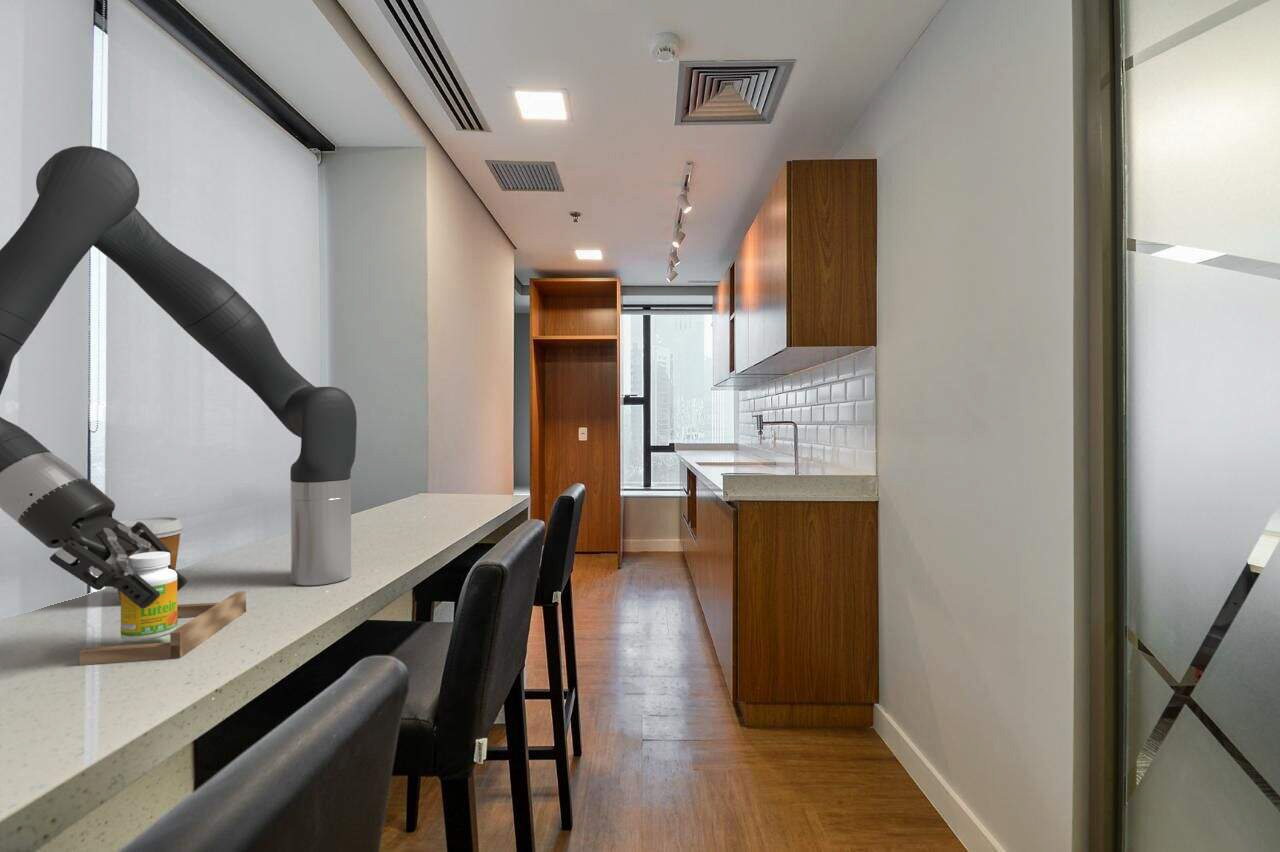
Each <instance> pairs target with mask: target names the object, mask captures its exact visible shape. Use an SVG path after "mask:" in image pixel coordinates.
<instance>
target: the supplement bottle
mask: <svg viewBox="0 0 1280 852" xmlns="http://www.w3.org/2000/svg"><path fill="white" fill-rule="evenodd" d="M128 565H129V566H130V568H131V569H132V570H133V574H132V575H134V574H138V575H139V576H140V577H141V578H142V579H144V580H145V581H146V582H147V583H148V584H150V585H151V586H152V587H153V588H154V589H156V590H157V591H158V592H159V593H160V596H159V598H157V599H156V600H155V601H154V602H153V603H152V604H151V605H150V606H148V607H146V608H140V607H139V606H138V605H137V604H135V603H134V602H133V601H132V600H130V599H129V598H128V597H127V596H126V595H124V594H123V593H122V592H121V604H120V638H121V639H122V640H123V641H143V640H150V639H156V638H159V637H163V636H166V635H170V633H171V632H173V631H174V630H176V629H177V628H178V618H177V605H178V592H177V573H176V572H175V571H174V570H172V569H168V565H170V553H169V552H147V553H140V554H135V555H132V556H129V558H128Z"/></svg>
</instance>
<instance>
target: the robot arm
mask: <svg viewBox="0 0 1280 852" xmlns="http://www.w3.org/2000/svg"><path fill="white" fill-rule="evenodd" d="M35 187H36V191H37V194H38V197H37V199H36V201H35V203H34V204H33V206H32V209H31V210H30V212H29V213H28V215H27V217H26V218H25V219H24V221H23V222H22V223H21V225H20V227H19V228H17V230H16V232H15V233H14V234H13V235H12V236H11V237H10V239H9V240H8V241H7V242H6V243H5V245H3V247H1V249H0V396H1V394H2V392H3V389H4V387H5V385H6V381H7V380H8V376H9V373H10V369H11V366H12V363H13V360H14V358H15V356H16V355H17V354H18V352H19V351H20V350H21V349H22V347H23V346H24V344H25V343H26V342H27V340H28V339H29V337H30V336H31V334H32V333H33V331H34V330H35V329H36V327H37V326H38V325H39V323H40V322H41V320H42V318H43V317H44V315H45V314H46V313H47V311H48V309H49V308H50V306H51V305H52V303H53V301H54V300H55V299H56V297H57V295H58V294H59V293H60V291H61V289H62V288H63V286H64V284H65V283H66V282H67V280H68V279H69V277H70V276H71V274H72V273H73V272H74V270H75V268H76V267H77V266H78V265H79V263H80V262H81V261H82V260H83V258H84V257H85V256H86V254H87V253H88V252H89V251H90V249H92V248H93V247H94V248H96V249H97V250H98V251H100V252H101V253H102V254H104V255H105V256H106V257H107V258H108V259H109V260H111V261H112V262H113V263H114V264H116V265H117V266H118V267H119V268H120V269H121V270H123V271H124V273H126V274H127V275H128V276H129V277H130V278H131V279H132V280H133V282H134V283H135V284H137V285H138V286H139V288H140V289H142V290H143V292H145V293H146V295H147V296H149V297H150V299H152V300H153V302H155V303H156V304H157V305H158V306H159V307H160V308H161V309H162V310H163V311H165V313H166V314H167V315H169V316H170V317H171V319H172V320H174V321H175V323H176V324H177V325H179V326H180V328H182V330H184V331H185V332H186V333H187V334H188V335H189V336H190V337H191V338H192V339H194V340H195V341H196V342H197V343H198V344H199V345H200V346H201V347H202V348H203V349H205V350H206V351H207V352H208V353H210V355H212V356H213V357H214V358H215V359H217V361H219V362H220V363H221V364H222V365H223V366H224V367H226V369H228V371H230V372H231V373H232V374H234V376H235V377H237V378H238V379H239V380H241V381H242V382H243V383H244V384H245V385H246V386H247V387H249V388H250V389H251V390H252V392H254V393H255V395H257V396H258V397H259V398H260V400H261V401H262V402H263V403H264V404H265V406H266V407H267V408H268V409H269V410H270V411H271V412H272V414H274V416H275V417H276V418H277V419H278V420H279V422H281V424H283V426H284V427H285V428H286V429H287V430H288V431H289V432H290V433H292V435H294V436H297V437H298V438H300V451H299V452H300V453H299V455H298V458H297V459H296V461H294V462H293V463H292V464H291V466H290V473H289V474H290V550H291V551H290V554H291V555H290V557H291V558H290V572H291V573H290V574H291V576H290V577H291V581H290V582H291V583H292V584H293V585H297V586H319V585H320V586H321V585H327V584H334V583H338V582H342V581H344V580H347V579H349V578H351V576H352V499H351V498H352V495H351V492H352V491H351V486H352V485H351V484H352V483H351V473H352V469H353V465H354V463H355V460H356V454H357V453H356V449H357V427H358V426H357V421H358V420H357V412H356V411H357V409H356V406H355V403H354V401H353V399H352V397H351V396H350V394H348V392H346V391H345V390H343V389H341V388H339V387H334V386H315V385H313V384H312V383H311V382H310V381H308V380H307V379H306V378H305V377H303V376H302V374H300V373H299V372H298V371H297V370H296V369H295V368H294V367H293V366H292V365H291V364H290V363H289V362H288V361H287V360H286V359H285V358H284V356H283V354H282V353H281V352H280V349H279V348H278V346H277V344H276V342H275V339H274V338H273V336H272V334H271V332H270V330H269V328H268V326H267V325H266V323H265V321H264V320H263V319H262V317H261V316H260V315H259V313H258V312H257V311H256V309H255V308H253V307H252V306H251V304H250V303H249V302H247V300H245V298H244V297H243V296H242V295H241V294H240V293H239V292H238V291H236V289H235V288H234V287H233V286H232V285H231V284H230V283H229V282H227V281H226V280H225V279H223V278H222V277H221V276H220V275H218V274H217V273H215V272H214V271H212V270H211V269H210V268H208V267H207V266H205V265H204V264H202V263H201V262H199V261H198V260H197V259H194V258H193V257H191V256H190V255H188V254H187V253H185V252H183V251H182V250H180V249H179V248H177V247H176V246H175V245H173V244H172V243H171V242H170V241H168V239H166V238H165V237H164V236H163V235H161V234H160V232H159V231H158V230H157V229H155V227H154V226H153V225H152V224H151V223H150V222H149V221H148V220H147V219H146V218H145V216H143V215H142V214H141V211H139V210H138V209H137V208H136V207H137V205H138V202H139V199H140V185H139V182H138V179H137V177H136V175H135V173H134V171H133V170H132V168H131V167H130V166H129V165H128V164H127V163H126V162H125V161H124V160H123V159H122V158H120V157H119V156H118V155H117V154H114V153H112V152H110V151H108V150H105V149H103V148H101V147H97V146H90V145H89V146H88V145H77V146H71V147H68V148H67V147H66V148H65V149H61V150H60V151H58V152H56V153H54V154H53V155H51V157H50V158H49V159H48V160H47V161H46V162H45V163H44V164H43V165H42V166H41V168H40V169H39V170H38V172H37V175H36V179H35ZM115 508H116V503H115V502H114V500H113V499H111V498H110V497H109V496H107V494H105V493H104V492H103V491H101V490H100V489H99V488H98V487H97V486H96V485H95V484H93V482H91V481H90V480H88V478H86V477H85V476H84V475H83V474H81V472H79V471H78V470H76V468H74V467H73V466H72V465H71V464H69V463H68V462H66V461H65V460H63V459H61V458H60V457H58V456H57V455H55V453H53V452H52V451H50V450H49V449H48V448H47V447H46V446H44V444H42V443H41V442H40V441H39V440H38V439H36V438H35V437H34V436H33V435H32V434H30V433H29V432H28V431H26V430H24V429H23V428H22V427H20V426H18V425H17V424H15V423H13V422H10V421H8V420H6V419H5V418H3V417H1V416H0V509H1V510H2V511H3V512H4V513H6V515H8V516H9V517H10V518H12V520H14V521H15V522H17V523H18V524H19V526H21V527H23V529H24V530H26V531H27V532H29V533H30V534H31V535H32V536H33V537H34V538H36V539H37V540H38V541H39V542H40V543H42V544H43V545H45V546H46V547H47V548H50V549H57V550H56V551H55V552H54V553H53V554H51V556H49V561H51V562H52V563H54V564H55V565H56V566H59V567H60V568H61V569H63V570H65V571H66V572H68V573H69V574H71V575H73V576H74V577H76V579H78V580H80V581H82V582H83V583H85V584H87V586H89V587H91V588H92V589H95V590H97V591H100V590H102V589H104V587H105V588H106V587H107V588H108V589H110V590H117V589H118V590H119V591H121V592H122V593H123V594H124V595H126V596H127V597H128V598H129V599H130V600H132V601H133V602H134V603H135V604H137V605H138V606H139V607H140V608H146V607H148V606H150V605H151V604H152V603H153V602H154V601H155V600H156V599H157V598H159V596H160V593H159V592H158V591H157V590H156V589H154V588H153V587H152V586H151V585H150V584H148V583H147V582H146V581H145V580H144V579H142V578H141V577H140V576H139V575H138V574H134V575H132V574H133V570H132V569H131V568H130V566H129V565H128V558H129V557H128V556H129V555H130V554H131V553H132V552H133V551H135V553H134V554H133V555H135V554H140V553H147V552H157V551H158V552H169V553H170V554H171V552H170V550H169V549H168V548H167V547H166V546H165V545H164V544H163V543H162V542H161V541H160V540H159V539H158V538H157V537H156V536H155V535H154V534H153V533H152V532H151V531H150V529H149V528H148V527H147V526H146V525H145V524H143V523H141V522H137V523H136V524H135V525H134V526H132V527H127V526H125V525H124V524H122V523H120V522H118V521H119V520H117V519H115V518H114V517H113V512H114V511H115ZM152 547H154V548H155V549H156V550H157V551H155V550H154V549H152ZM116 568H117V569H118V570H117V569H116ZM168 569H172V570H174V571H175V572H176V573H177V593H178V592H179V591H180V590H181V589H182V588H183V587H185V586H186V584H187V583H188V580H187V579H186V578H185V577H184V576H183V575H182V574H181V573H179V572H178V571H177V570H176V569H173V568H172V567H171V566H170V565H168ZM89 570H90V572H91V573H90V572H89ZM118 590H117V591H118Z"/></svg>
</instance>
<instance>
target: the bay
mask: <svg viewBox="0 0 1280 852" xmlns="http://www.w3.org/2000/svg"><path fill="white" fill-rule="evenodd" d="M246 592H247V591H246V590H237V591H236V592H234V593H233V594H231V595H229V596H228V597H227V598H224V599H223V600H221V601H219V602H218V601H217V602H203V603H199V602H198V603H186V604H185V603H184V604H177V619H178V618H191V619H190V620H189V621H187V622H186V623H184V624H182V625H181V626H178V627H177V629H176V630H174V631H173V632H171V633H170V634H168V635H166V636H163V637H159V638H156V639H150V640H143V641H127V640H124V641H123V642H122V643H120V644H118V645H109V646H94V647H93V646H92V647H86V648H83V649H82V650H80V651H79V666H82V665H83V666H84V665H97V664H98V665H99V664H111V663H112V664H113V663H127V662H141V661H153V660H154V661H156V660H170V659H171V660H172V659H181V658H183V657H184V656H185V655H186V654H189V652H191V651H193V650H194V649H195V648H197V647H198V646H199V645H201V644H202V643H203V642H205V641H206V640H208V639H209V638H211V637H212V636H213V635H215V634H216V633H218V632H220V631H221V630H222V629H224V627H226V626H228V624H230V623H232V622H233V621H234V620H236V619H237V618H239V617H240V616H241V615H243V614H244V613H246V612H247V593H246Z"/></svg>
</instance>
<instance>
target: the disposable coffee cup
mask: <svg viewBox="0 0 1280 852" xmlns="http://www.w3.org/2000/svg"><path fill="white" fill-rule="evenodd" d="M117 521H118V522H120V523H122V524H124V525H125V526H127V527H132V526H134V525H135V524H136V523H137V522H141V523H143V524H145V525H146V526H147V527H148V528H149V529H150V531H151V532H152V533H153V534H154V535H155V536H156V537H157V538H158V539H159V540H160V541H161V542H162V543H163V544H164V545H165V546H166V547H167V548H168V549H169V550H170V552H171V554H170V566H171V567H172V568H173V569H175V570H176V568H177V561H178V553H179V547H180V546H179V545H180V538H181V533H183V529H185V525H183V524H182V521H181V518H180V517H173V516H159V517H158V516H157V517H156V516H155V517H142V518H134V519H133V518H132V519H125V520H117ZM152 549H154V550H155V551H157V550H156V549H155V548H154V547H152ZM157 552H158V551H157ZM134 553H135V551H133V552H132V553H131V554H130V555H129V556H132V555H133V554H134ZM129 556H128V557H129ZM116 569H117V568H116ZM117 570H118V569H117ZM116 590H117V594H118V600H119V601H118V602H119V604H120V603H121V591H119V590H118V589H116Z"/></svg>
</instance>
